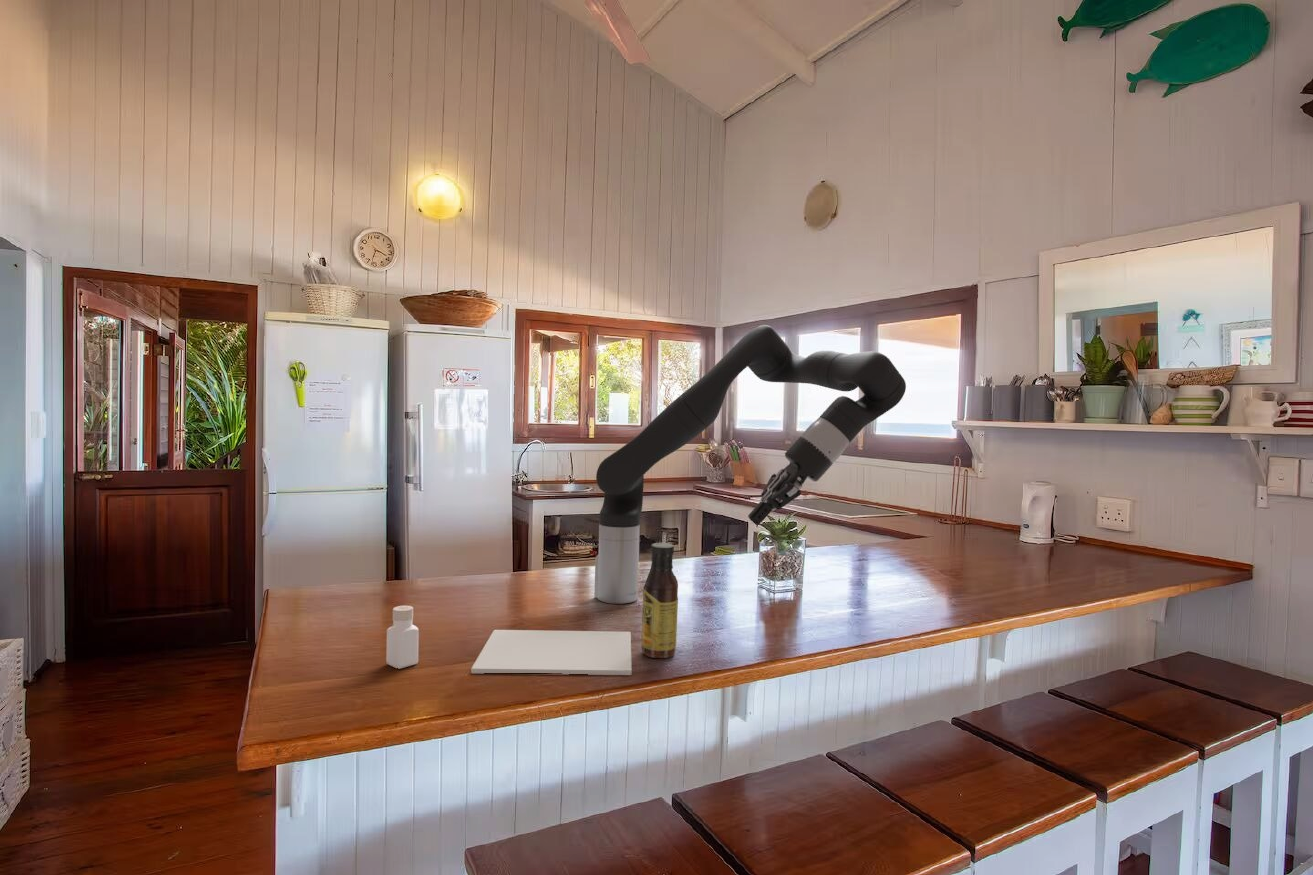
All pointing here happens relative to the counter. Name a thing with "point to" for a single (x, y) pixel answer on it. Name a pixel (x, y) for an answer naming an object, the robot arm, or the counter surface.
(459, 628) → the counter surface
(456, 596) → the counter surface
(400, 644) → the white pill bottle
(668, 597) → the sauce bottle
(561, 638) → the cutting mat
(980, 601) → the counter surface
